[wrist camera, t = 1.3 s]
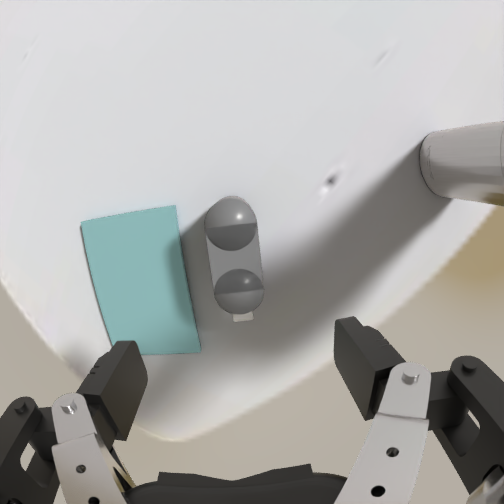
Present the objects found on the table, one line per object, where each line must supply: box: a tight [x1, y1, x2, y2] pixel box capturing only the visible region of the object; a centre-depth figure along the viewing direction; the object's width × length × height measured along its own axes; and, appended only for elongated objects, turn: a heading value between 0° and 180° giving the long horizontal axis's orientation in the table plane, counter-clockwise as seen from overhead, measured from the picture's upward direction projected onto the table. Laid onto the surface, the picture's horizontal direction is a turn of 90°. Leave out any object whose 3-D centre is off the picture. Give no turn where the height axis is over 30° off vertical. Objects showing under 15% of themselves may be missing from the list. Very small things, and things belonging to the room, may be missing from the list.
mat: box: [81, 205, 201, 355], centre depth 31 cm, size 12×18×1 cm, turn 6°
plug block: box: [205, 196, 264, 322], centre depth 28 cm, size 4×12×7 cm, turn 6°
